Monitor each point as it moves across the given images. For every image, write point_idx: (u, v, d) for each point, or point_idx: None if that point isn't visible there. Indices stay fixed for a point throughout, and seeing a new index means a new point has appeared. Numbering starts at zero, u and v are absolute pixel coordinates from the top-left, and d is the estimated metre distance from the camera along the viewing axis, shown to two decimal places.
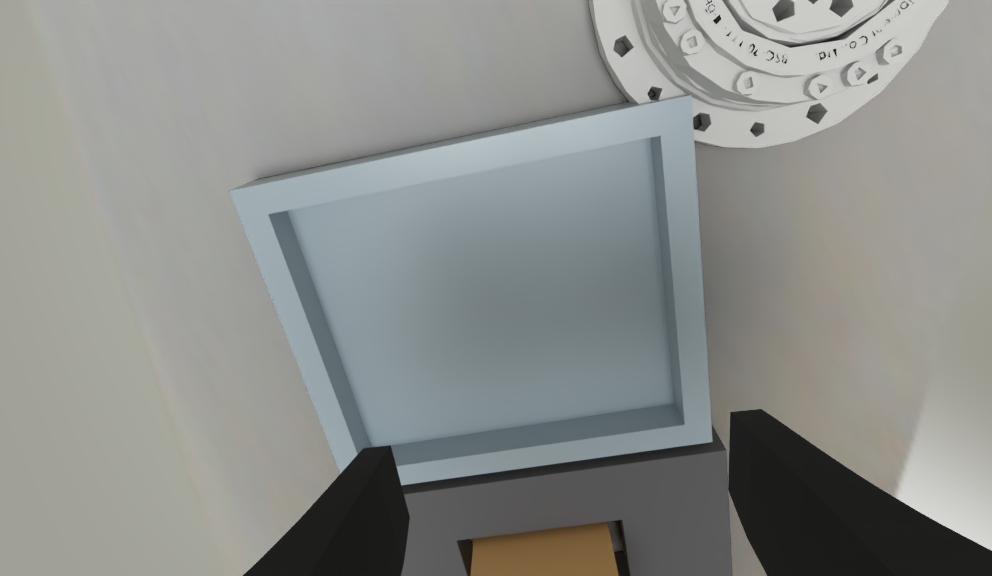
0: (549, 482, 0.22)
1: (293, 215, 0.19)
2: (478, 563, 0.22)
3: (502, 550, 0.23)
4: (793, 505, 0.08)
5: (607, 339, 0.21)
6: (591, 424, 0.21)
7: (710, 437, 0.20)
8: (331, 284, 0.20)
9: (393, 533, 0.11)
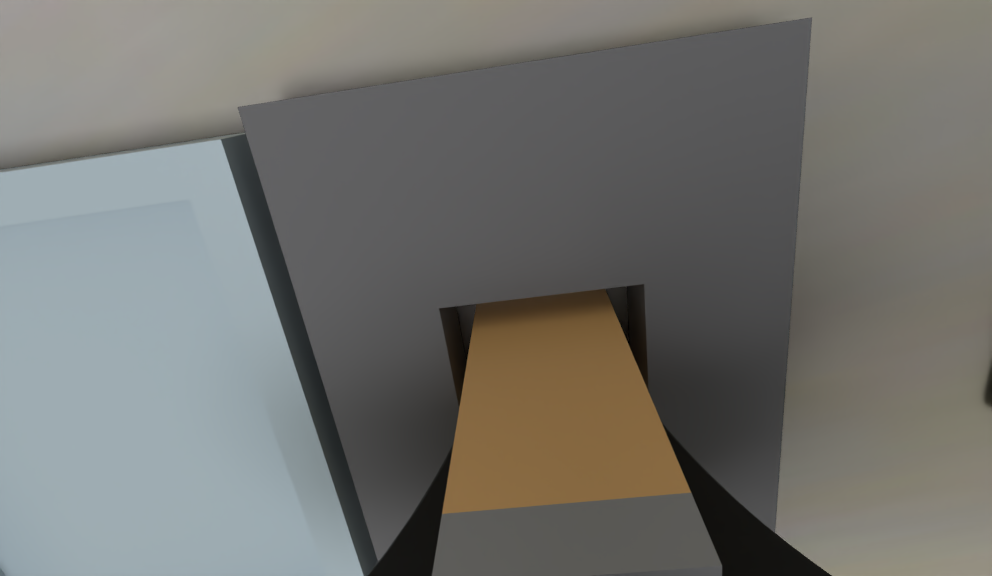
0: (353, 426, 0.12)
1: None
2: None
3: None
4: None
5: (122, 301, 0.13)
6: None
7: (211, 144, 0.10)
8: None
9: None
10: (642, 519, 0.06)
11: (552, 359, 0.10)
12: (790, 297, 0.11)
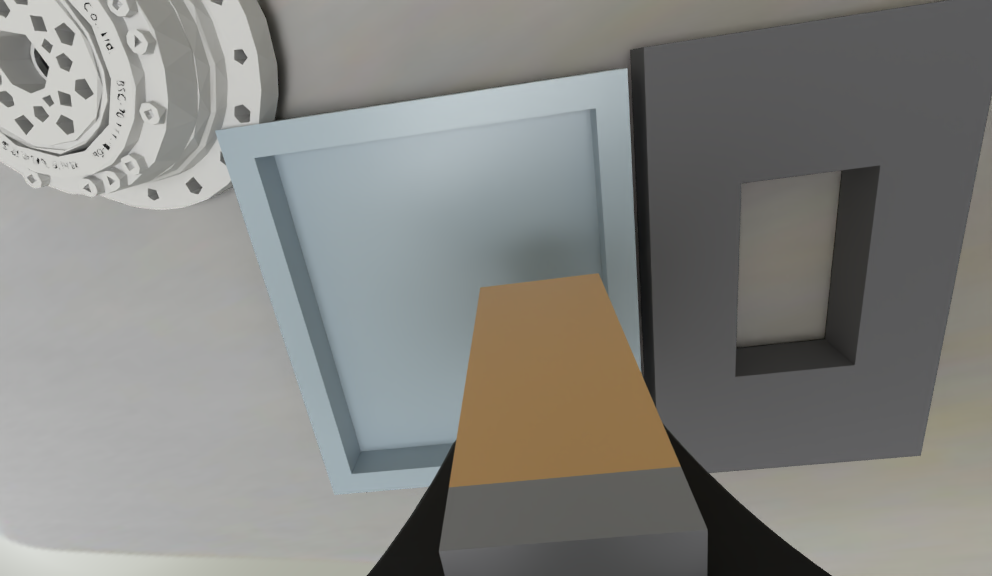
0: (663, 271, 0.18)
1: (369, 447, 0.23)
2: None
3: None
4: None
5: (497, 189, 0.19)
6: (599, 212, 0.18)
7: (620, 71, 0.16)
8: (430, 432, 0.23)
9: None
10: (634, 490, 0.06)
11: (552, 348, 0.10)
12: (975, 174, 0.16)
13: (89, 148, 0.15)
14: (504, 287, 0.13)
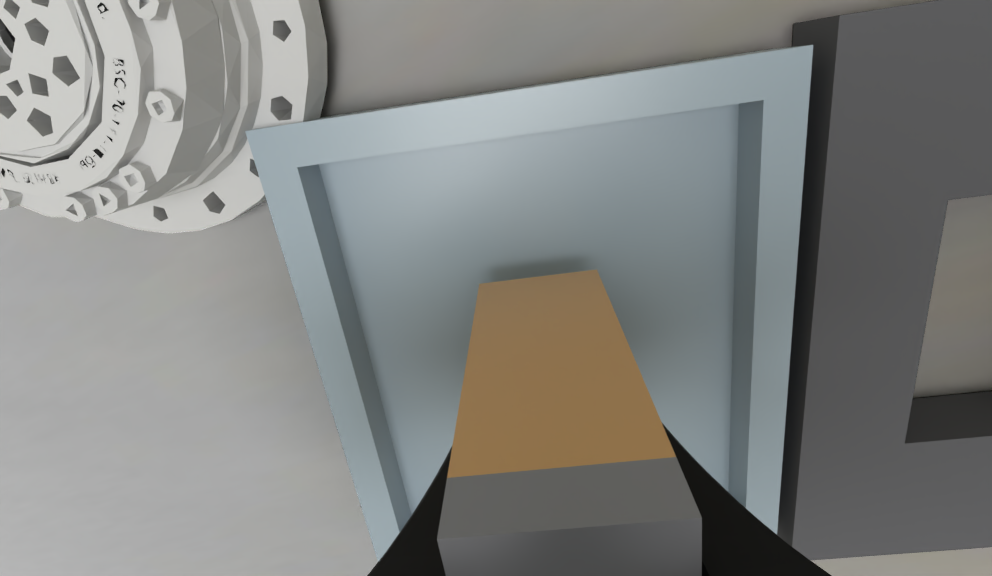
0: (828, 313, 0.14)
1: None
2: None
3: None
4: None
5: (606, 206, 0.14)
6: (743, 237, 0.14)
7: (802, 49, 0.11)
8: None
9: None
10: (631, 480, 0.07)
11: (550, 342, 0.10)
12: None
13: (74, 155, 0.11)
14: (503, 283, 0.13)
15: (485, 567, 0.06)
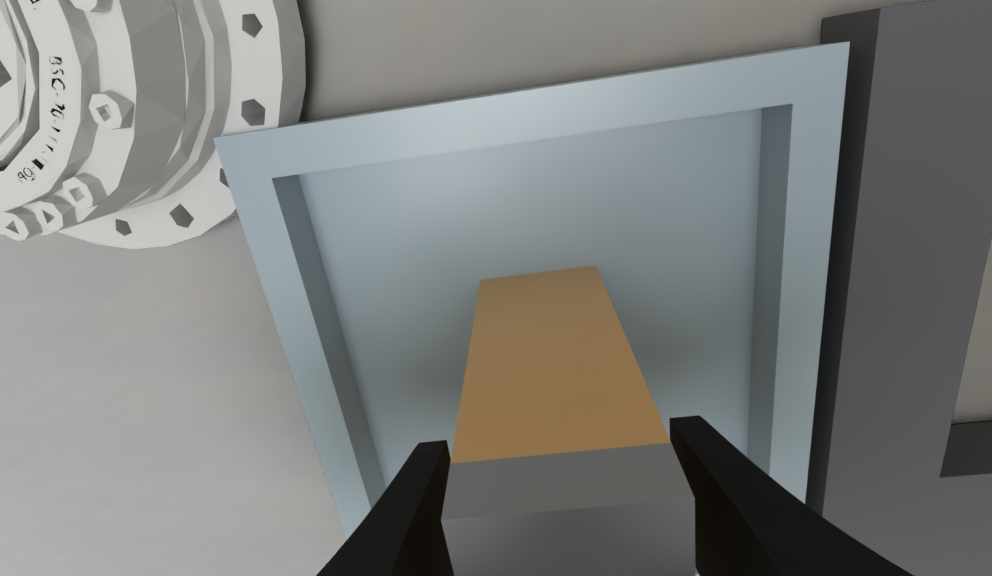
0: (860, 338, 0.12)
1: None
2: None
3: None
4: (716, 511, 0.09)
5: (615, 220, 0.13)
6: (765, 253, 0.13)
7: (837, 46, 0.10)
8: None
9: None
10: (626, 464, 0.07)
11: (550, 335, 0.10)
12: None
13: (11, 166, 0.09)
14: (504, 279, 0.14)
15: (487, 547, 0.06)
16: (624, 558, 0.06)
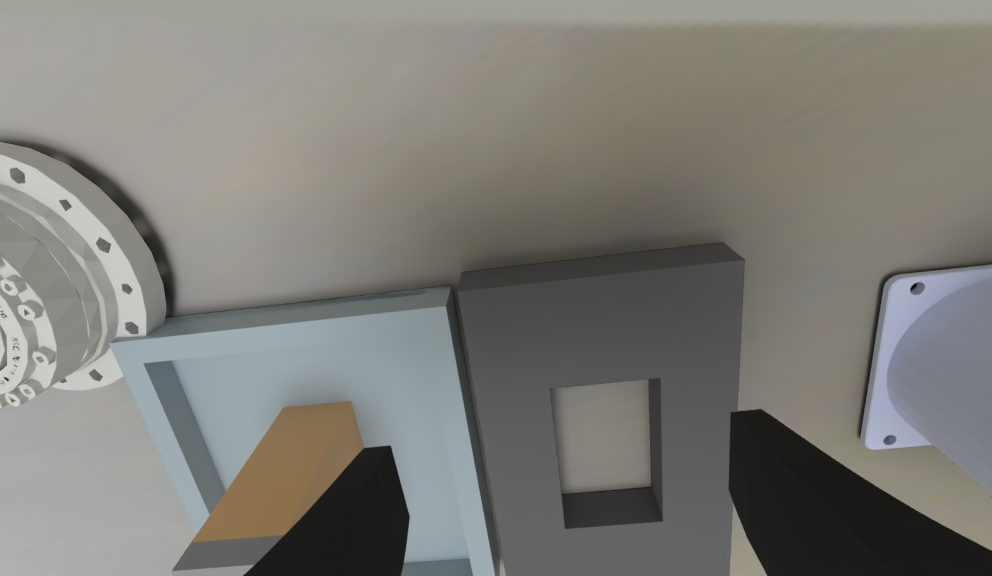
0: (494, 450, 0.21)
1: None
2: None
3: None
4: (793, 505, 0.08)
5: (357, 376, 0.22)
6: None
7: (440, 308, 0.19)
8: None
9: (393, 533, 0.11)
10: (260, 545, 0.16)
11: (286, 461, 0.19)
12: (737, 385, 0.20)
13: None
14: (295, 409, 0.22)
15: None
16: None
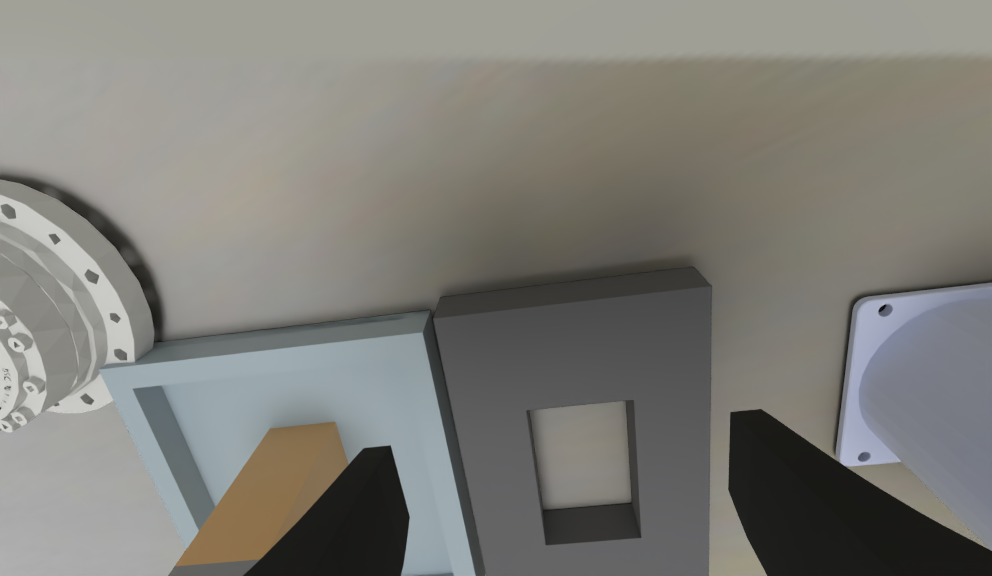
0: (474, 470, 0.22)
1: None
2: None
3: None
4: (793, 505, 0.08)
5: (341, 398, 0.22)
6: None
7: (417, 334, 0.20)
8: None
9: (393, 533, 0.11)
10: (240, 570, 0.16)
11: (269, 483, 0.20)
12: (709, 406, 0.20)
13: None
14: (281, 430, 0.23)
15: None
16: None
